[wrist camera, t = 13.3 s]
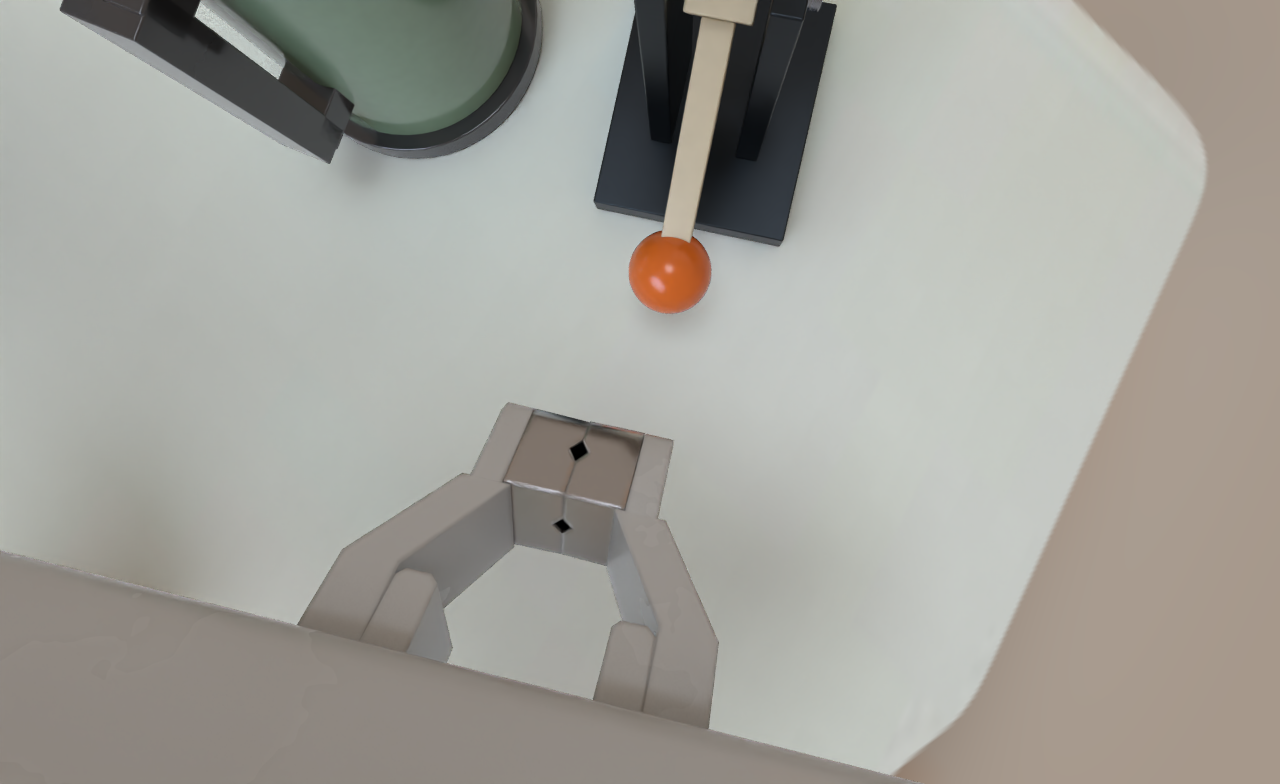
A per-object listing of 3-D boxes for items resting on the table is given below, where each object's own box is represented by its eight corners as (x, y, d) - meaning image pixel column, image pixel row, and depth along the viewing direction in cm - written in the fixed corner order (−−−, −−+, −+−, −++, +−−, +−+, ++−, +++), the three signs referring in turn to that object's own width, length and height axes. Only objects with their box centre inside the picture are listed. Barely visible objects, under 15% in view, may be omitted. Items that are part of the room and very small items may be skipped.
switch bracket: (779, 246, 31) (848, 150, 18) (596, 208, 32) (539, 88, 19) (831, 18, 31) (937, -241, 18) (646, -17, 31) (622, -292, 19)
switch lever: (704, 304, 27) (698, 334, 25) (630, 288, 27) (615, 316, 25) (790, -70, 21) (795, -86, 18) (692, -87, 21) (682, -106, 18)
